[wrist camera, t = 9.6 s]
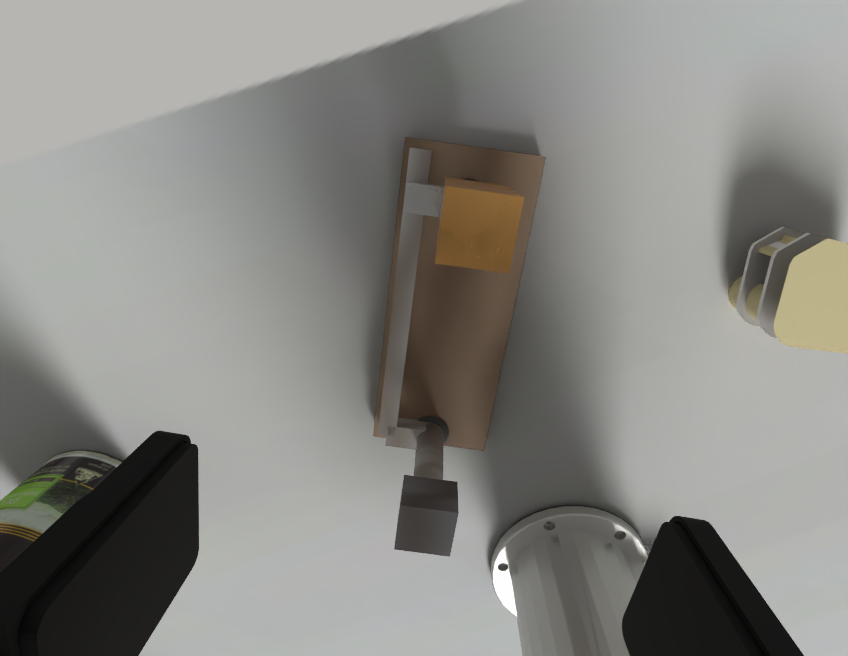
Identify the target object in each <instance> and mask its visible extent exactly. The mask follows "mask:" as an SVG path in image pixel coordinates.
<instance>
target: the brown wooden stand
mask: <svg viewBox="0 0 848 656" xmlns="http://www.w3.org/2000/svg"><path fill="white" fill-rule="evenodd" d="M545 159H546V157H544V156H537V155H529V154H522V153H515V152H508V151H501V150H494V149H486V148H479V147H472V146H465V145H458V144H450V143H443V142H436V141H429V140H422V139H415V138H407V137H405V143H404V153H403V162H402V171H401V181H400V190H399V200H398V209H397V218H396V228H395V237H394V246H393V256H392V265H391V274H390V284H389V293H388V303H387V312H386V321H385V331H384V340H383V349H382V359H381V368H380V377H379V387H378V396H377V406H376V415H375V424H374V434H373V436H377V437H384V438H386V446H393V447H401V448H408V449H416V456H415V467H414V476H408V475H404V481H403V488H402V495H401V502H400V509H399V516H398V524H397V532H396V541H395V549H397V550H404V551H412V552H420V553H427V554H435V555H442V556H450V552H451V547H452V542H453V537H454V532H455V527H456V522H457V517H458V490H457V482H453V481H446V480H443V445H444V446H452V447H459V448H467V449H474V450H482V451H484V448H485V444H486V439H487V434H488V429H489V425H490V420H491V415H492V410H493V406H494V401H495V396H496V391H497V387H498V382H499V377H500V372H501V368H502V363H503V358H504V353H505V349H506V344H507V339H508V334H509V330H510V325H511V320H512V315H513V311H514V306H515V301H516V296H517V292H518V287H519V282H520V277H521V273H522V268H523V263H524V258H525V254H526V249H527V244H528V239H529V235H530V230H531V225H532V220H533V216H534V211H535V206H536V201H537V197H538V192H539V187H540V182H541V178H542V173H543V168H544V163H545ZM445 177H448V178H456V179H463V180H470V181H477V182H484V183H492V184H499V185H506V186H509V187H511V188H512V189H514V190H515V191H516V192H518V193H519V194H521V195H522V196H524V202H523V207H522V212H521V217H520V222H519V227H518V232H517V237H516V242H515V247H514V252H513V257H512V262H511V267H510V272H509V274H508V273H501V272H493V271H486V270H479V269H471V268H464V267H457V266H450V265H442V264H435V256H436V243H437V235H438V227H439V220H440V217H433V216H426V215H419V214H412V213H404V212H403V208H404V199H405V190H406V182H407V181H412V182H419V183H426V184H433V185H441V186H444V184H445Z"/></svg>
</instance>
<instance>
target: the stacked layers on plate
mask: <svg viewBox="0 0 848 656" xmlns="http://www.w3.org/2000/svg"><path fill="white" fill-rule="evenodd" d="M728 297H729V301H730V303H731V305H732V306H733V307H735V308H736V309H737V312H738V314H739V316H740V317H741V318H742V319H743V320H744V321H746V322H748V323H749V324H752V325H756V326H759V327H760V329H761V330H762V331H763V332H765V333H766V334H768V335H770V336H772V337H775V338H778V340H779V341H780V342H782V343H783V344H785V345H787V346H791V347H797V348H806V349H814V350H823V351H831V352H840V353H848V244H847V243H843V242H840V241H836V240H833V239H829V238H828V239H827V238H823V237H820V236H817V235H813V234H809V233H803V232H799V231H796V230H792V229H789V228H785V227H780V228H778V229H777V230H775V231H773V232H771V233H770V234H768V235H766V236H765V237H763V238H761V239H759V240H758V241H756V242H754V243H753V244H752V245H751V247H750V249H749V252H748V256H747V260H746V264H745V268H744V273H743V276H741V277H739V278H738V279H737V280H736V281H735V282H734V283H733V284H732V286H731V287H730V290H729V295H728Z"/></svg>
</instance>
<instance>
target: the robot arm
mask: <svg viewBox="0 0 848 656" xmlns="http://www.w3.org/2000/svg"><path fill="white" fill-rule="evenodd" d="M198 551H199V505H198V447H197V445H195V444H191V441H190V438H189V436H187V435H182V434H176V433H170V432H164V431H156V432H154V433H153V434H152V435H151V436H150V437H149V438H147V439H146V440H145V441H144V442H143V443H142V444H141V445H140V446H139V447H138V448H137V449H136V450H135V451H134V452H133V453H132V454H130V455H129V456H128V457H127V458H126V459H125V460H124V461H123V462H122V463H121V464H120V465H119V466H118V467H117V468H116V469H115V470H113V471H112V472H111V473H110V474H109V475H108V476H107V477H106V478H105V479H104V480H103V481H102V482H101V483H100V484H99V485H98V486H96V487H95V488H94V489H93V490H92V491H91V492H90V493H89V494H88V495H85V496H84V497H82V498H81V499H79V500H78V501H77V502H76V503H75V504H74V505H73V506H71V507H70V508H69V509H68V510H67V511H66V512H65V513H64V514H63V515H62V516H61V517H60V518H59V519H58V520H56V521H55V522H54V523H53V524H52V525H51V526H50V527H49V528H48V529H47V530H46V531H45V532H44V533H42V534H41V535H40V536H39V537H38V538H37V539H36V540H35V541H34V542H33V543H32V544H31V545H30V546H29V547H27V548H26V549H25V550H24V551H23V552H22V553H21V554H20V555H19V556H18V557H17V558H16V559H15V560H14V561H12V562H11V563H10V564H9V565H8V566H7V567H6V568H5V569H4V570H3V571H2V572H1V573H0V656H138V655H139V654H140V652H141V650H142V649H143V647H144V646H145V644H146V642H147V641H148V639H149V637H150V636H151V634H152V633H153V631H154V629H155V628H156V626H157V625H158V623H159V621H160V620H161V618H162V617H163V615H164V613H165V612H166V610H167V608H168V607H169V605H170V604H171V602H172V600H173V599H174V597H175V596H176V594H177V592H178V591H179V589H180V588H181V586H182V584H183V583H184V581H185V579H186V578H187V576H188V575H189V573H190V571H191V570H192V568H193V566H194V564H195V562H196V559H197V556H198ZM491 575H492V583H493V587H494V590H495V592H496V595H497V596H498V598H499V599H500V601H501V603H502V604H503V605H504V606H505V607H506V608H507V609H508V610H509V611H510V612H511V613H513V614H514V615H516V616H517V621H518V628H519V634H520V641H521V647H522V654H523V656H804V655H803V654H802V652H801V651H800V649H799V648H798V647H797V645H796V644H795V642H794V641H793V640H792V638H791V637H790V635H789V634H788V633H787V631H786V630H785V628H784V627H783V625H782V624H781V623H780V621H779V620H778V618H777V617H776V616H775V614H774V613H773V611H772V610H771V609H770V607H769V606H768V604H767V603H766V601H765V600H764V599H763V597H762V596H761V594H760V593H759V592H758V590H757V589H756V587H755V586H754V584H753V583H752V582H751V580H750V579H749V577H748V576H747V575H746V573H745V572H744V570H743V569H742V568H741V566H740V565H739V563H738V562H737V560H736V559H735V558H734V556H733V555H732V553H731V552H730V551H729V549H728V548H727V546H726V545H725V543H724V542H723V541H722V539H721V538H720V536H719V535H718V534H717V532H716V531H715V529H714V528H713V527H712V525H711V524H710V523H709V522H707V521H705V520H699V519H693V518H687V517H681V516H674V517H673V518H672V519H671V520H670V522H665V523H663V524H662V526H661V527H660V530H659V532H658V535H657V537H656V539H655V542H654V544H653V547H652V549H651V551H650V554H649V556H648V554H647V551H646V549H645V547H644V545H643V543H642V541H641V539H640V537H639V536H638V534H637V533H636V532H635V531H634V529H633V528H632V527H631V526H630V525H628V524H627V523H626V522H625V521H623V520H622V519H621V518H619V517H617V516H615V515H613V514H611V513H609V512H606V511H602V510H599V509H596V508H590V507H582V506H563V507H557V508H551V509H547V510H544V511H541V512H538V513H535V514H532V515H530V516H528V517H526V518H524V519H523V520H521V521H519V522H518V523H517V524H515V525H514V526H513V527H511V528H510V529H509V530H508V531H507V532H506V533H505V534H504V535H503V537H502V538H501V539H500V541H499V542H498V544H497V546H496V548H495V550H494V553H493V556H492V559H491Z"/></svg>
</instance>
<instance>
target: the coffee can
mask: <svg viewBox="0 0 848 656" xmlns="http://www.w3.org/2000/svg"><path fill="white" fill-rule="evenodd" d="M121 463H122V462H121V461H119V460H117V459H115V458H113V457H110V456H108V455H105V454H102V453H96V452H91V451H71V452H66V453H62V454H59V455H56V456H55V457H53V458H51V459H50V460H48V461H47V462H46V463H45V464H44V465H43V466H42V467H41V468H40V469H39V470H38V471H36V472H35V473H34V474H33V475H31V476H30V477H29V478H28V479H27V480H25V481H24V482H23V483H21V484H20V485H19V486H18V487H17V488H16V489H14V490H13V491H11V492H10V493H9V494H8V495H7V496H6V497H4V498H3V499H2V500H1V501H0V573H1V572H2V571H3V570H4V569H5V568H6V567H7V566H8V565H9V564H10V563H11V562H12V561H14V560H15V559H16V558H17V557H18V556H19V555H20V554H21V553H22V552H23V551H24V550H25V549H26V548H27V547H29V546H30V545H31V544H32V543H33V542H34V541H35V540H36V539H37V538H38V537H39V536H40V535H41V534H42V533H44V532H45V531H46V530H47V529H48V528H49V527H50V526H51V525H52V524H53V523H54V522H55V521H56V520H58V519H59V518H60V517H61V516H62V515H63V514H64V513H65V512H66V511H67V510H68V509H69V508H70V507H71V506H73V505H74V504H75V503H76V502H77V501H78V500H79V499H81V498H82V497H84V496H85V495H88V494H89V493H90V492H91V491H92V490H93V489H94V488H95V487H96V486H98V485H99V484H100V483H101V482H102V481H103V480H104V479H105V478H106V477H107V476H108V475H109V474H110V473H111V472H112V471H113V470H115V469H116V468H117V467H118V466H119V465H120V464H121Z"/></svg>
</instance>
